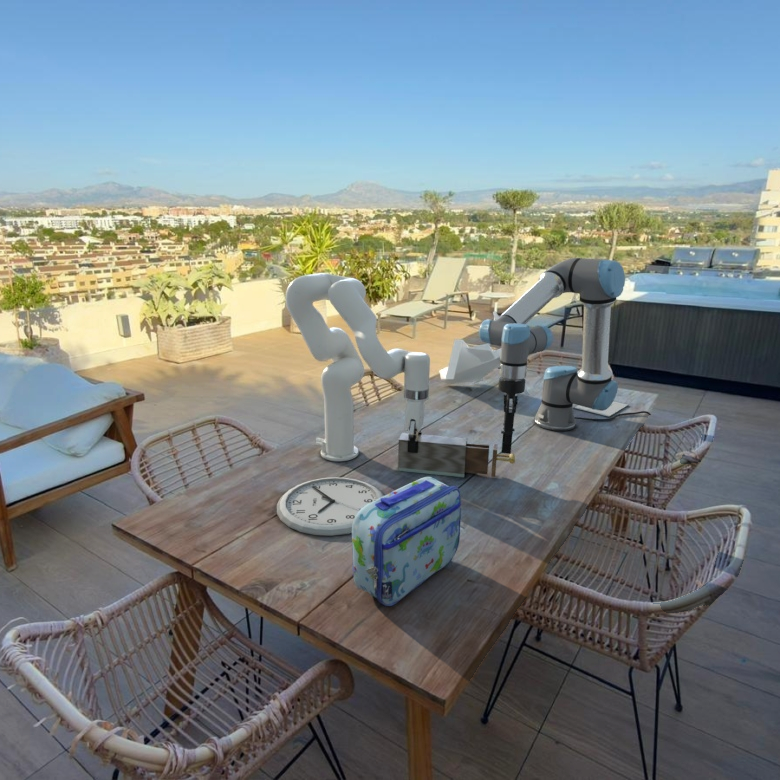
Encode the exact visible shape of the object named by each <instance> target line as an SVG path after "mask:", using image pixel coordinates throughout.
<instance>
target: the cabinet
mask: <svg viewBox="0 0 780 780" xmlns="http://www.w3.org/2000/svg"><path fill="white" fill-rule="evenodd" d="M408 435H409V432H401V434H400V436H399V438H398V449H397V450H398V453H397V454H398V455H397V459H398V460H397V471H399V472H407V473H408V472H409V473H418V474H427V475H428V474H429V475H438V476H448V477H456V478H465V474H466V472H465V456H466V444H467V443H468V438H467V437H456V436H444V435H433V434H418V453H410V452H408ZM414 435H415V436H416V434H414Z"/></svg>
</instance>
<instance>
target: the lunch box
mask: <svg viewBox="0 0 780 780" xmlns="http://www.w3.org/2000/svg"><path fill="white" fill-rule="evenodd" d="M461 499H462V497H461V491H460V489H459V488H458V487H457V486H455V485H450V486H449V485H447V484H445V483H444V482H442V481H440V480H438V479H436V478H434V477H432V476H424V477H421V478H419V479H416V480H414V481H412V482H410V483H407V484H405V485H404V486H401V487H399V488H397V489H395V490H392V491H391V492H390V493H386V494H384V496H383V497H381V498H379V499H377V500H375V501H373V502H371V503H369V504H367V505H365V506H364V507H362V508H361V509H360V510H359V512H358V513H357V515H356V516H355V518H354V521H353V526H352V533H351V550H352V576H353V581H354V584H355V587H356V588H358V589H360V590H362V591H364V592H366V593H368V594H370V596H372V597H374V598H375V599H377V601H378V603H379V604H382V605H383V606H385V607H393V606H394V605H396V604H397V603H399V602H400V601H402V599H404V598H405V597H406V596H407V595H409V594H410V593H411V592H413V591H414V590H415V589H416V588H418V587H419V586H420V585H422V584H423V583H424V582H425V581H427V580H428V579H429V578H430V577H432V575H434V574H435V573H437V572H439V571H441V570H442V569H443V568H445V567H446V566H448V565H449V564H450V562H452V560H453V559H454V557H455V555H456V553H457V551H458V549H459V544H460V537H461V519H462V515H461V513H462V512H461V510H462V507H461V505H462V504H461V503H462V502H461Z"/></svg>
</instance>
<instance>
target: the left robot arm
mask: <svg viewBox="0 0 780 780" xmlns="http://www.w3.org/2000/svg"><path fill="white" fill-rule="evenodd" d="M366 297H367V291H366V287H365V285H364V284H363V283H362V282H361V281H360V280H359V279H357V278H353V277H348V276H342V275H337V274H332V273H326V272H325V273H324V272H323V273H322V272H320V273H319V272H318V273H312V274H304V275H300V276H297V277H296V278H294V279H293V280H292V281H291V282H289V284H288V286H287V288H286V291H285V295H284V298H285V300H284V301H285V306H286V308H287V311H288V313H289V315H290V317H291V319H292V320H293V321H294V323H295V325H296V326H297V329H298V330H299V333H300V334H301V337H302V338H303V340H304V342H305V344H306V346H307V348H308V350H309V352H310V354H311V355H312V357H313V358H314V360H316V361H317V362H327V361H330V360H332V363H329V365H327V366H326V367H325V368H324V369H323V371H322V373H321V375H320V384H321V389H322V394H323V395H322V396H323V406H324V408H323V409H324V410H323V411H324V412H323V413H324V438H321V437H316V438H315V446H316V447H321V450H320V456H321V457H322V458H323V459H324V460H326V461H330V462H347V461H351V460H353V459H356V457H358V456H359V448H358V447H357V446H355V433H354V432H355V408H354V398H353V394H352V390H351V388H352V387H353V386H354V385H356V384H358V383H359V382H360V381H362V379H363V378H364V377H365V365H364V363H363V361H364V362H365V363H366V365H367V366H368V367H369V369H370V370H371V371H372V373H374V374H375V375H376V376H377V377H378V378H380V379H383V380H390V379H391V380H392V379H393V378H395V377H396V376H398V375H399V374H402V373H403V374H404V375H403V399H404V400H405V401H406V402H405V409H404V410H405V411H404V426H403V431H404V432H408V433H409V435H408V452H410V453H418V434H422V433H423V432H422V428H423V425H424V421H425V410H426V409H425V407H426V406H425V405H426V401H428V400H429V396H430V395H429V394H430V374H431V373H430V370H431V358H430V355H429V354H427V353H426V352H423V351H422V352H420V351H409V350H406V349H402V348H397V347H396V348H392V349H389V350H386V349H385V347H384V346H383V345H382V343H381V341H380V339H379V337H378V335H377V323H378V317H377V315H376V314H375V313H374V311H373V310H372V309H371V307H370V306H369V305H368V303H367V302H366V301H365V299H366ZM324 300H325V301H329V302H330V304H331V305H332V306H333V308H334V309H335V310H336V312H337V313H338V314H339V316H340V317H341V318H342V320H343V321H344V322H345V324H346V325H347V326H348V328H349V329H350V330H351V331H352V333H353V334H354V339H355V342H356V345H357V349H358V350H357V349H356V346H355V345H354V342H353V341H352V339H351V337H350V335H349V334H348V332H346V331H345V330H344V329H342V328H340V327H335V326H334V327H332V326H331V327H329V326H328V325H327V323H326V320H325V319H324V316H323V315H322V314H321V312H320V311H319V310H318V309H317V308H316V307H315V306H314V303H317V302H320V301H324ZM358 351H359V353H358ZM359 354H360V355H359ZM361 358H362V359H363V361H362V359H361ZM414 434H416V436H415V435H414ZM422 435H423V434H422Z"/></svg>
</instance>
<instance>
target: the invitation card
mask: <svg viewBox="0 0 780 780" xmlns="http://www.w3.org/2000/svg"><path fill="white" fill-rule="evenodd" d="M628 406H629V404H627V403H623V402H618V401H615V400H614V401H613V402H612V404H611V405H610V407H609V408H608V409H606V410H604V411H600V410H596V409H591V408H588V407H584V406H580V405H575V406H574V407H573V409H575V410H581V411H584V412H587V413H593V414H596V415H600V416H604V417H608V418H610V417H611V416H613V415H614V414H616V413H617V412H619V411H621V410H623V409H624V408H626V407H628Z"/></svg>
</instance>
